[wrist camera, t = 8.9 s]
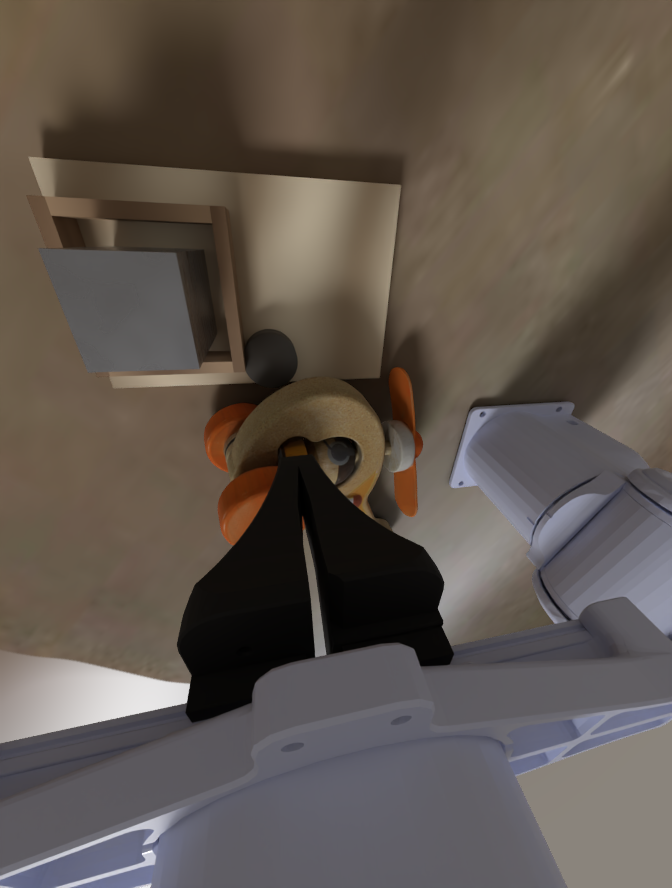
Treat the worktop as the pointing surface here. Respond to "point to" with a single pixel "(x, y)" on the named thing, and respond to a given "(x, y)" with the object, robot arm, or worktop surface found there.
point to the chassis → (245, 260)
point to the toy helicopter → (314, 445)
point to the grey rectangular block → (135, 305)
